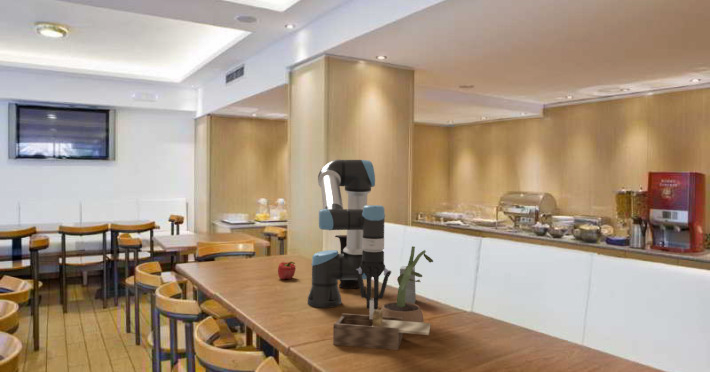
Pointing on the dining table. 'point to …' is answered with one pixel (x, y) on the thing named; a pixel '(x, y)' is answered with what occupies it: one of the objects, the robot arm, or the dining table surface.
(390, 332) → the box
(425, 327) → the lid
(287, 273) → the vegetable
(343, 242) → the jug
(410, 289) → the skincare box
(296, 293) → the dining table surface
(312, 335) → the dining table surface
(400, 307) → the potted plant
